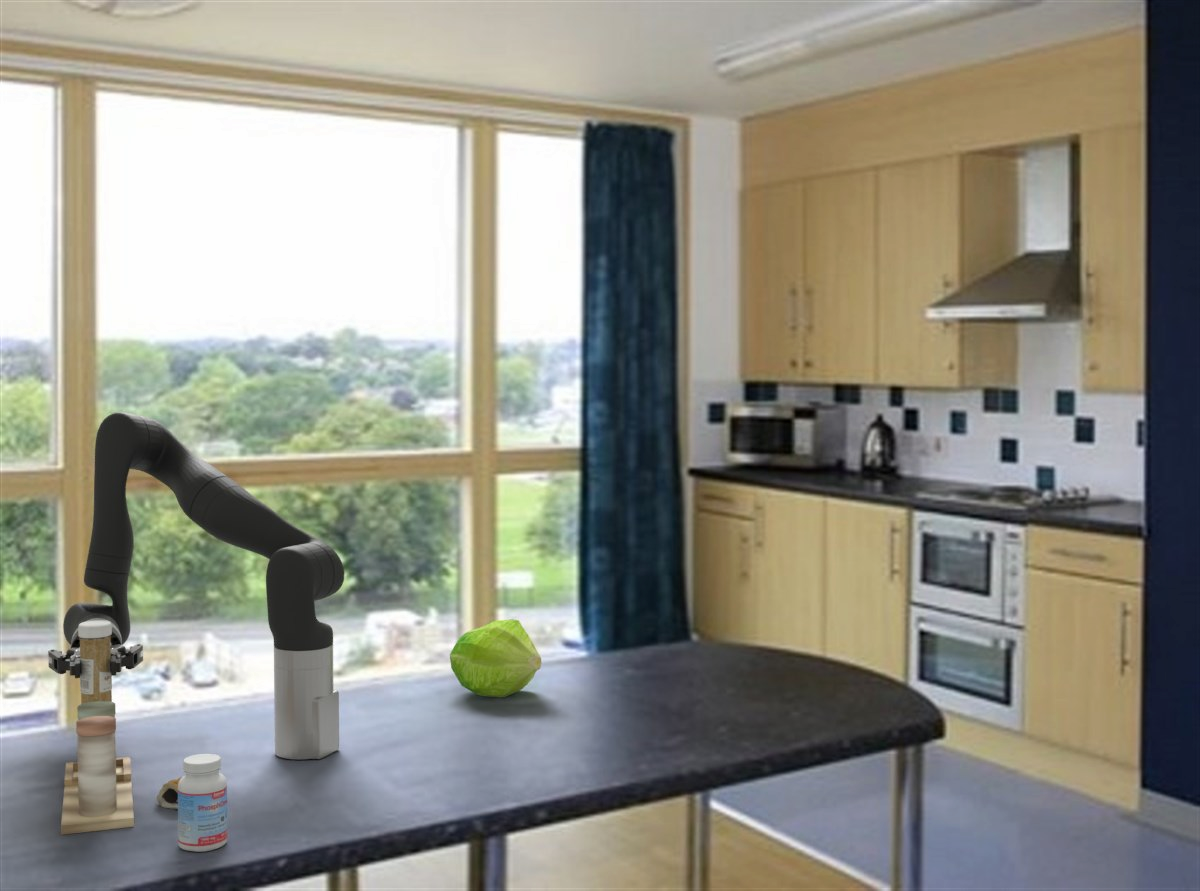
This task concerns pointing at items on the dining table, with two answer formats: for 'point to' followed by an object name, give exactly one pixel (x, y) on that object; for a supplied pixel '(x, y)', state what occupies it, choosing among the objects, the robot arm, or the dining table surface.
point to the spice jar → (95, 661)
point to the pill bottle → (202, 804)
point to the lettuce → (495, 659)
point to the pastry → (169, 794)
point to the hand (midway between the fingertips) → (95, 669)
